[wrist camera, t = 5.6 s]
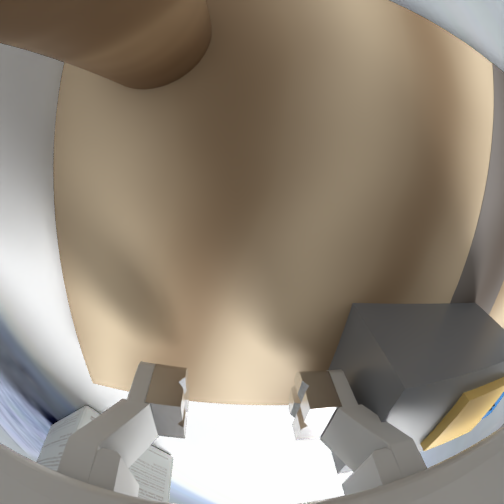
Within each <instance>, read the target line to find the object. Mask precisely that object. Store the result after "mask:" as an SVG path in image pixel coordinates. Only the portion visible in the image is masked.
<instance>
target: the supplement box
mask: <svg viewBox="0 0 504 504" xmlns="http://www.w3.org/2000/svg"><path fill="white" fill-rule="evenodd" d="M99 415H100V413H98V412H97V411H95V410H94V409H92V408H91V407H89V406H84V407H82V408H81V409H79V410H77V411H75V412H74V413H72V414H70V415H68V416H67V417H65V418H63V419H61V420H60V421H58V422H56V423H54V424H53V425H51V428H50V430H49V432H48V435H47V437H46V440H45V442H44V444H43V447H42V449H41V452H40V455H39V457H38V460H37V463H39V464H41V465H43V466H45V467H47V468H50V469H52V470H54V471H57V469H58V466H59V463H60V460H61V458H62V455H63V452H64V449H65V446H66V444H67V441H68V438H69V436H70V435H72V434H73V433H75V432H76V431H78V430H79V429H80V428H82V427H83V426H85V425H86V424H88V423H89V422H91V421H92V420H93V419H95V418H96V417H98V416H99ZM172 466H173V457H171V456H170V455H169V454H167V453H165V452H163V451H161V450H159V449H158V448H156V447H154V446H152V445H150V447H149V448H148V449H147V450H146V451H145V452H144V453H143V454H142V455H141V456H140V457H139V458H138V459H137V460H136V461H135V462H134V463H133V464H132V465H131V466H130V467H129V468H128V469H129V470H130V472H131V473H132V475H133V477H134V478H135V480H136V481H137V482H138V484H139V492H138V497H140V498H145V499H150V500H155V501H161V502H168V503H169V495H170V485H171V475H172Z"/></svg>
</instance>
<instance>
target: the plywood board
mask: <svg viewBox="0 0 504 504" xmlns="http://www.w3.org/2000/svg"><path fill="white" fill-rule="evenodd" d="M206 2H207V7H208V12H209V16H210V21H211V27H212V34H211V40H210V44H209V46H208V49H207V51H206V53H205V54H204V56H203V58H202V59H201V60H200V62H199V63H198V64H197V65H196V66H195V67H194V68H193V69H192V70H191V71H190V72H188V73H187V74H186V75H184V76H183V77H181V78H180V79H178V80H176V81H174V82H172V83H170V84H168V85H165V86H162V87H158V88H153V89H133V88H129V87H125V86H123V85H121V84H118V83H116V82H114V81H111V80H109V79H107V78H104V77H102V76H99V75H97V74H94V73H92V72H89V71H87V70H84V69H81V68H79V67H76V66H73V65H71V64H68V63H65V62H64V66H63V71H62V77H61V82H60V89H59V96H58V103H57V112H56V122H55V136H54V163H53V177H54V205H55V219H56V229H57V239H58V247H59V254H60V261H61V267H62V273H63V278H64V283H65V288H66V293H67V298H68V302H69V307H70V311H71V315H72V319H73V323H74V326H75V330H76V334H77V337H78V340H79V344H80V347H81V350H82V353H83V356H84V359H85V362H86V365H87V368H88V371H89V374H90V377H91V379H92V382H93V383H94V384H98V385H102V386H106V387H111V388H115V389H120V390H125V391H130V388H131V385H132V382H133V379H134V376H135V373H136V370H137V367H138V364H139V363H140V362H141V361H143V362H148V363H155V364H163V365H169V366H177V367H184V368H188V382H187V383H188V384H189V401H197V402H208V403H221V404H240V405H289V394H290V390H291V388H292V387H293V386H295V382H294V378H295V375H296V373H297V372H302V371H322V370H326V371H327V370H328V369H329V367H330V364H331V362H332V359H333V357H334V354H335V351H336V349H337V346H338V344H339V341H340V338H341V335H342V333H343V330H344V327H345V324H346V321H347V318H348V316H349V313H350V310H351V307H352V303H380V304H443V303H476V304H477V305H479V306H480V307H481V308H482V309H483V310H484V311H485V312H486V313H487V314H488V315H490V316H491V317H492V318H493V319H494V320H495V321H496V322H497V323H498V324H499V325H500V326H501V327H502V328H503V329H504V72H503V71H502V70H500V69H499V68H498V67H497V66H496V65H494V64H493V63H491V62H490V61H489V60H488V59H486V58H485V57H484V56H482V55H481V54H480V53H478V52H477V51H476V50H474V49H473V48H472V47H470V46H469V45H467V44H466V43H465V42H463V41H462V40H460V39H459V38H457V37H456V36H454V35H453V34H451V33H449V32H448V31H446V30H445V29H443V28H441V27H440V26H438V25H436V24H435V23H433V22H431V21H429V20H428V19H426V18H424V17H422V16H420V15H418V14H416V13H414V12H412V11H410V10H408V9H406V8H404V7H402V6H400V5H398V4H396V3H393V2H391V1H389V0H206Z"/></svg>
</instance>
